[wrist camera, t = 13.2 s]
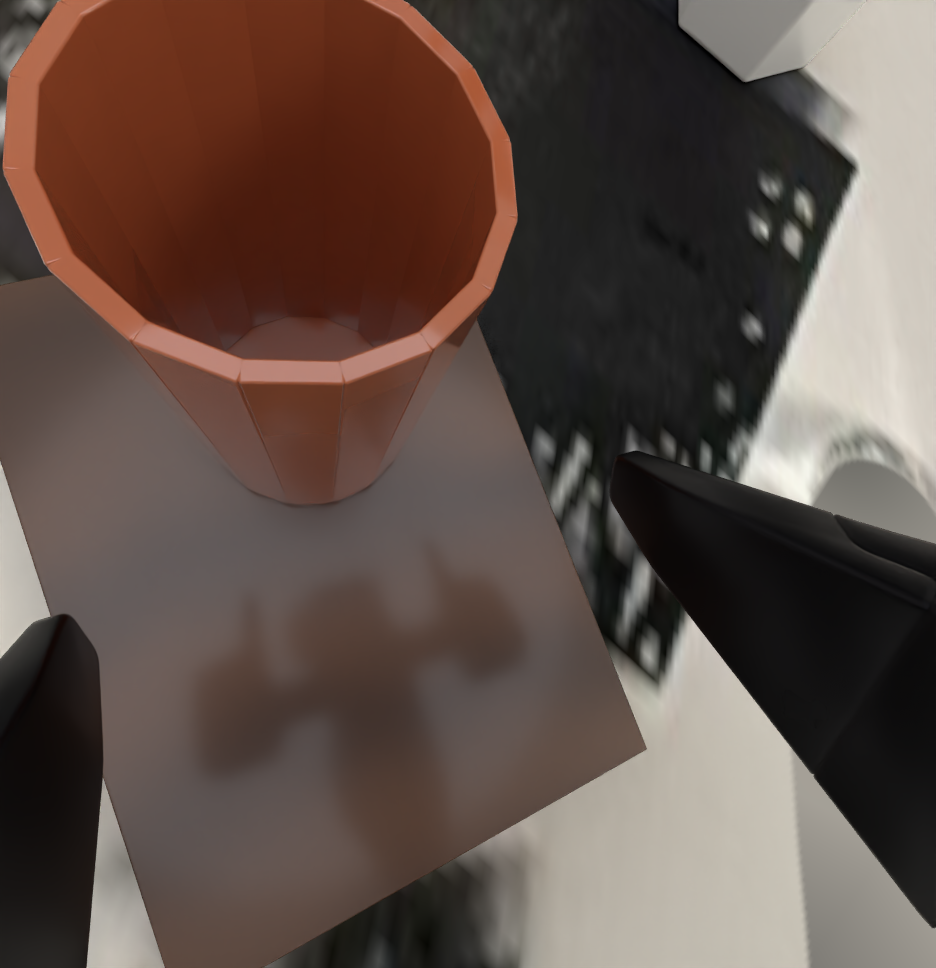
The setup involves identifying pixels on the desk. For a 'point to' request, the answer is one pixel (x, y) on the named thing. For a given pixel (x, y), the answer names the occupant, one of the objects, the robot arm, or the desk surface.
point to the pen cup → (267, 215)
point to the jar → (764, 31)
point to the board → (301, 642)
